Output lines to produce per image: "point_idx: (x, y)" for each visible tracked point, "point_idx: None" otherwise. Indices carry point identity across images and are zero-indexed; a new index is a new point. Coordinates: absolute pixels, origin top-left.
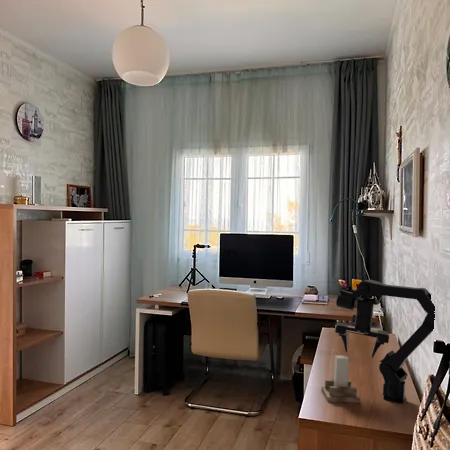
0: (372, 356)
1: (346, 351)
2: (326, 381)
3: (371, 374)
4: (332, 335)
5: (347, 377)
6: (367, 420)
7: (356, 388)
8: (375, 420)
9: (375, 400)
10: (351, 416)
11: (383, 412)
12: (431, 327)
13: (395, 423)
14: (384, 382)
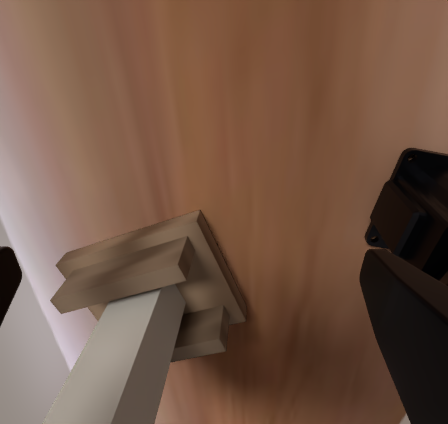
0: (375, 308)
1: (9, 294)
2: (65, 310)
3: None
4: None
5: (164, 376)
6: (274, 406)
7: (225, 350)
8: (300, 401)
9: (319, 262)
10: (224, 398)
11: (338, 350)
12: None
13: (366, 402)
14: (408, 225)
